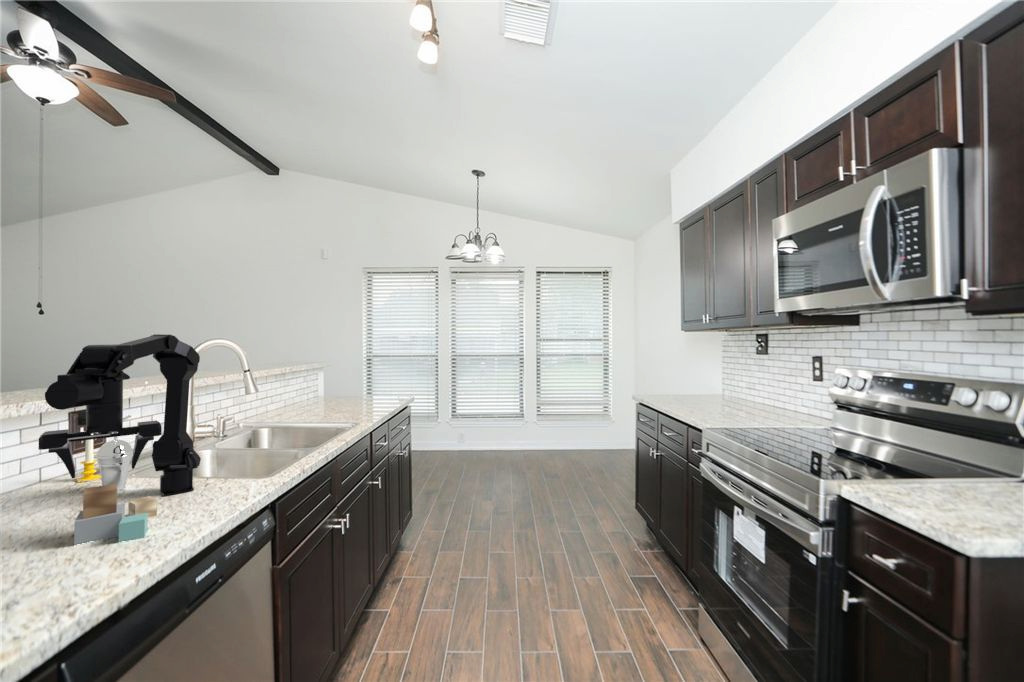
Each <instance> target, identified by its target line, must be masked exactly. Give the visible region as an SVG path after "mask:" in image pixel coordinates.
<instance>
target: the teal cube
mask: <svg viewBox="0 0 1024 682" xmlns="http://www.w3.org/2000/svg"><path fill="white" fill-rule="evenodd" d="M148 519H149V518H148V513H144V514H138V515H132V516H128V515H126V516H125V517H123V518H122V520H121V521H120V523H119V536H118V543H119V542H120V543H123V542H122V541H125V542H130V541H129V540H131V541H134V540H140V539H144V538H145V537H146V535H147V532H148Z"/></svg>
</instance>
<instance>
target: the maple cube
mask: <svg viewBox="0 0 1024 682" xmlns="http://www.w3.org/2000/svg"><path fill="white" fill-rule="evenodd" d="M127 510H128V513H127V514H128V515H127V516H132V515H138V514H144V513H148V519H150V518H152V517H156V516H158V499H157V498H156V497H153V496H151V495H148V496H145V497H144V496H143V497H139V498H137V499H132V500H129V501H128V509H127ZM149 517H150V518H149Z"/></svg>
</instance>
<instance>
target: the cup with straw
mask: <svg viewBox="0 0 1024 682" xmlns="http://www.w3.org/2000/svg"><path fill="white" fill-rule="evenodd" d="M131 417H132V415H130V414H129V415H127V416H125V417H123V421H125V420H128V419H129V418H131ZM115 433H118V432H115ZM133 450H134V448H133V447H132V445H131V443H129V442H127V441H125V440H123V439H118V436H117V437H113V440H109V441H107V442H105V443H103V444H102V445H101V446H100V447H99V449H98V450H97V452H96V453H93V460H97V464H98V467H99V473H100V476H101V478H100V481H101V486H104V485H110V484H116V483H117V492H118V490H120V491H123V490H124V488H125V489H126V484H127V480H128V475H129V468H130V463H131V462H132V456H133ZM122 489H123V490H122Z"/></svg>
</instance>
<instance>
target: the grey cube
mask: <svg viewBox="0 0 1024 682" xmlns="http://www.w3.org/2000/svg"><path fill="white" fill-rule="evenodd" d="M125 507H126V503H125V502H124V503H119V504H118V503H117V510H116V513H111V514H106V515H101V516H96V517H91V518H86V519H83V510H80V511H79V513H78V515H77V517H76V518H75V520H74V532H73V533H74V536H73V546H74V545H76V546H78V545H77V544H80V545H83V544H82V543H85V544H88V543H87V542H90V541H94V542H97V541H96V540H99V541H102V540H101V539H104V540H107V539H106V538H109V539H112V538H111V537H113V538H116V537H115V536H118V537H119V523H120V521H121V520H122V518H123V517H126V516H125V512H126V509H125ZM90 543H91V542H90Z"/></svg>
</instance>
